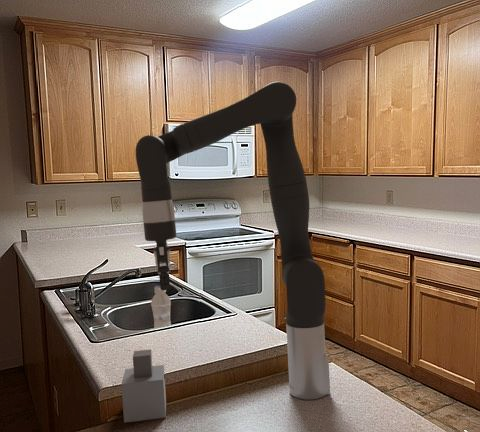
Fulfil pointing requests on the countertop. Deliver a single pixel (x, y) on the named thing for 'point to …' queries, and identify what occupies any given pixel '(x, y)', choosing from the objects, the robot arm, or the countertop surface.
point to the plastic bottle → (161, 308)
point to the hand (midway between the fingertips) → (165, 286)
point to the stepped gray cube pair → (143, 389)
